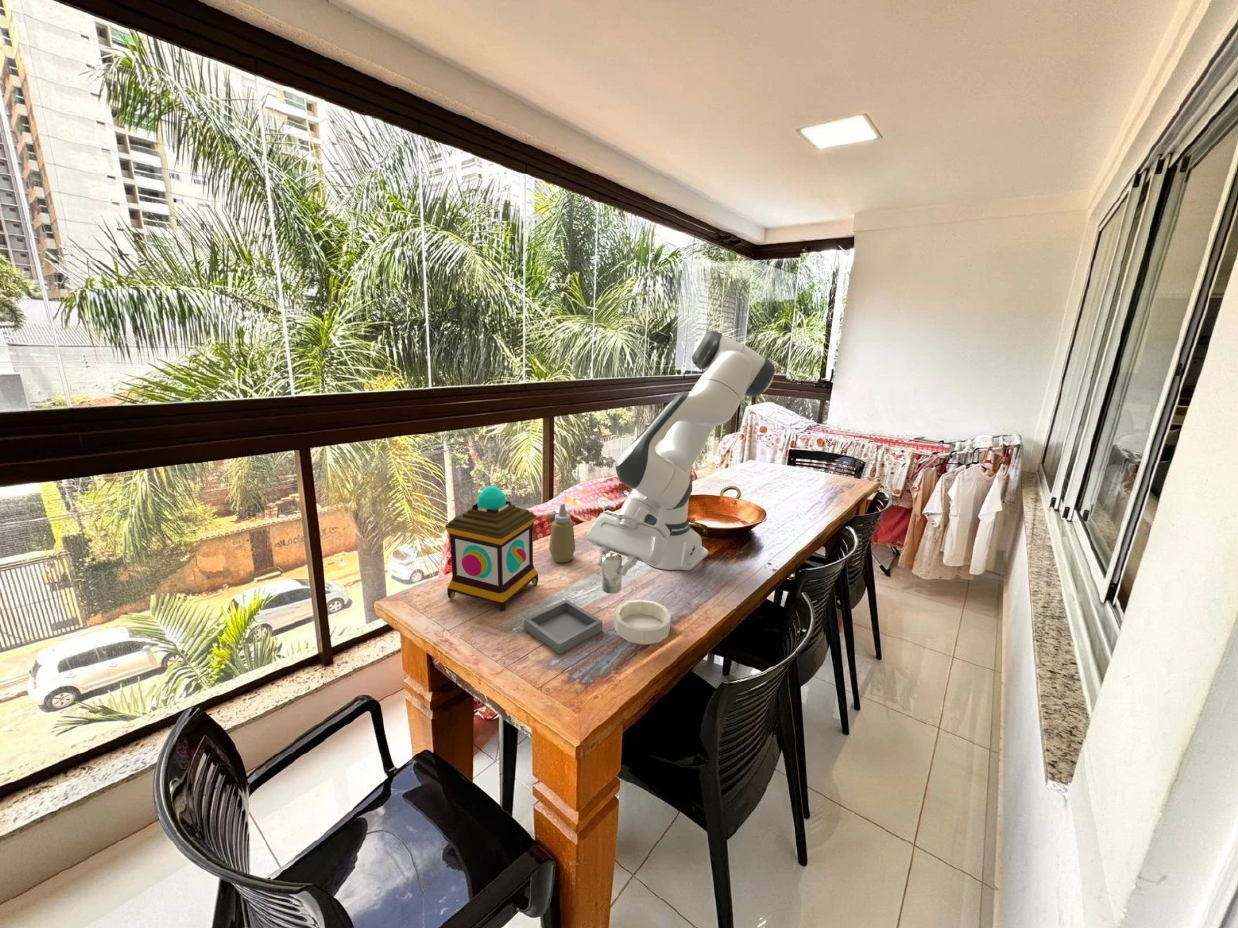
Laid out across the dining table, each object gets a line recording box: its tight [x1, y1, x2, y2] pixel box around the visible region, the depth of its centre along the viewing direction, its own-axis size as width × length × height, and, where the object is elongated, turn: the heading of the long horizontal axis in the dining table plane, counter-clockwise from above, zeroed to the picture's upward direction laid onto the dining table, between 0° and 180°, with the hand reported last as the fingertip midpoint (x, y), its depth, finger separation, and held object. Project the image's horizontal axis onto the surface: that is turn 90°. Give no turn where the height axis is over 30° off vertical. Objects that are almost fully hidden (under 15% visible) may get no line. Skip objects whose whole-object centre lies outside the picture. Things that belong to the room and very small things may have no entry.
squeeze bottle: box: [548, 503, 576, 563], centre depth 152 cm, size 8×8×18 cm
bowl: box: [613, 599, 672, 645], centre depth 119 cm, size 13×13×4 cm
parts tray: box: [523, 599, 603, 655], centre depth 117 cm, size 13×13×4 cm
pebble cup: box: [601, 552, 623, 595], centre depth 116 cm, size 4×4×9 cm
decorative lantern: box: [444, 485, 539, 612], centre depth 131 cm, size 20×20×30 cm
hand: (610, 570), depth 115 cm, fingers closed on pebble cup, 4 cm apart
